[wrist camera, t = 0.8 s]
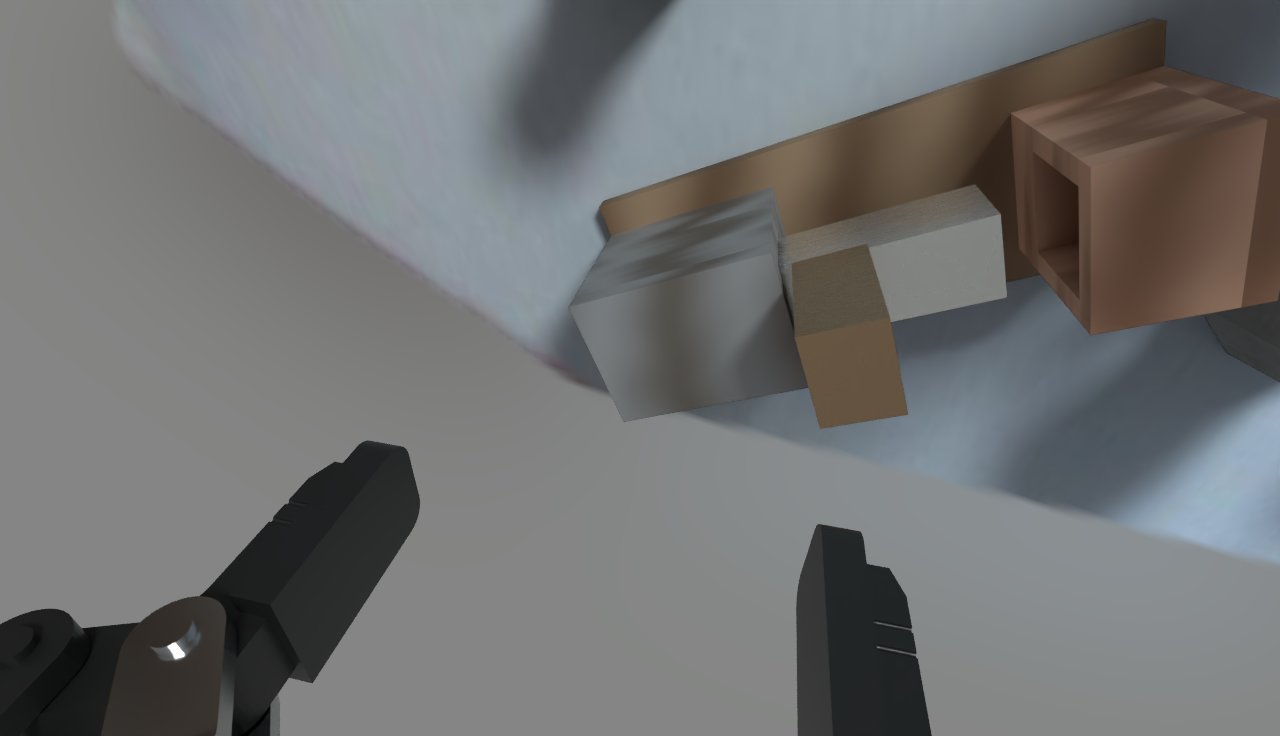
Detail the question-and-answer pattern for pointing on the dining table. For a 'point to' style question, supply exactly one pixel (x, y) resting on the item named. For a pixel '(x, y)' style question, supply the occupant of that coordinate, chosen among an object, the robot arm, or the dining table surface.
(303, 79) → the dining table surface
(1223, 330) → the coffeepot
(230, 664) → the robot arm
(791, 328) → the block assembly on base
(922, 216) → the two-tone wooden block
